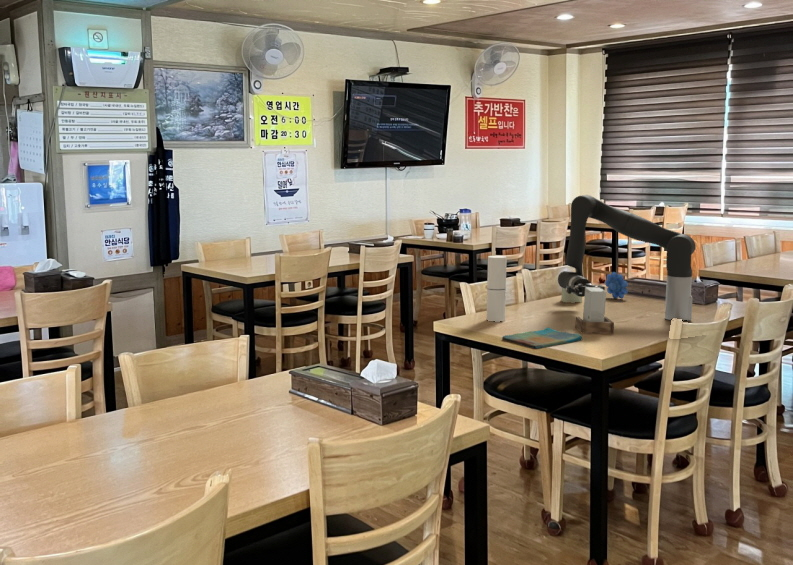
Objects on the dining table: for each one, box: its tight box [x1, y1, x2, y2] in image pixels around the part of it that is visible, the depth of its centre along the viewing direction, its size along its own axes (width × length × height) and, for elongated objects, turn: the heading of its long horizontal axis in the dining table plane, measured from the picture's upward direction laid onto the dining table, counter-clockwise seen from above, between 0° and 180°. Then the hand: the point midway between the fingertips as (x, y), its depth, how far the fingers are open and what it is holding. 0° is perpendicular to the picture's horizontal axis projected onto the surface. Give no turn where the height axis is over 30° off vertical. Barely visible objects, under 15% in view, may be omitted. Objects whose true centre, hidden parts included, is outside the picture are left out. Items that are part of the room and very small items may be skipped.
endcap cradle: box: [574, 316, 615, 335], centre depth 292 cm, size 11×11×4 cm
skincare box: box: [582, 287, 607, 322], centre depth 292 cm, size 8×6×15 cm
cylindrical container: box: [486, 255, 508, 323], centre depth 308 cm, size 7×7×25 cm
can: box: [560, 287, 583, 304], centre depth 352 cm, size 9×9×12 cm
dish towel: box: [501, 326, 583, 350], centre depth 276 cm, size 17×23×2 cm
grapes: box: [604, 271, 629, 300], centre depth 359 cm, size 12×7×12 cm, turn 43°
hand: (589, 292), depth 303 cm, fingers open, 8 cm apart
